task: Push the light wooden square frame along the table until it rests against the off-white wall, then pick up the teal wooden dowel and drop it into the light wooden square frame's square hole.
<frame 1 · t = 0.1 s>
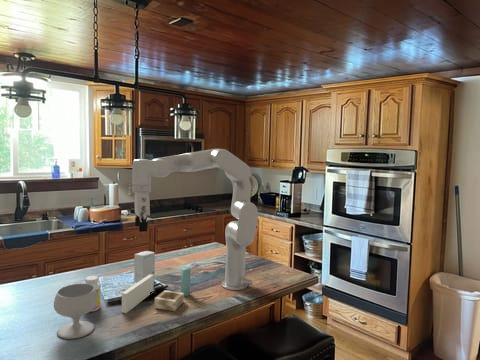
hand: (141, 228, 149), 31 cm above the kitchen island, tool pointing down, fingers open, 9 cm apart
dowel: (185, 294, 159), on the kitchen island
skincare box: (144, 283, 171), on the kitchen island
chalice: (76, 331, 125), on the kitchen island
light wooden square frame: (169, 300, 147), point 2 cm above the kitchen island, slide at 0.0 cm
wall: (138, 301, 150), on the kitchen island
supplement bottle: (91, 309, 142), on the kitchen island
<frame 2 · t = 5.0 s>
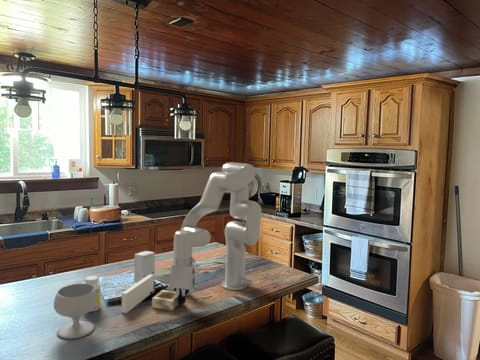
hand: (181, 303, 146), 2 cm above the kitchen island, tool pointing down, fingers closed
light wooden square frame: (167, 299, 148), point 2 cm above the kitchen island, slide at 1.1 cm, touching gripper
everything else where it was.
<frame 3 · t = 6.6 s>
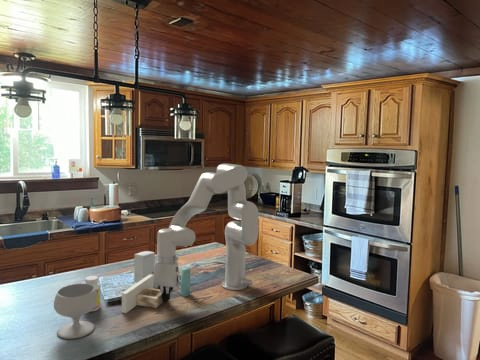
hand: (165, 301, 148), 2 cm above the kitchen island, tool pointing down, fingers closed
light wooden square frame: (151, 297, 150), point 2 cm above the kitchen island, slide at 8.2 cm, touching gripper
everything else where it was.
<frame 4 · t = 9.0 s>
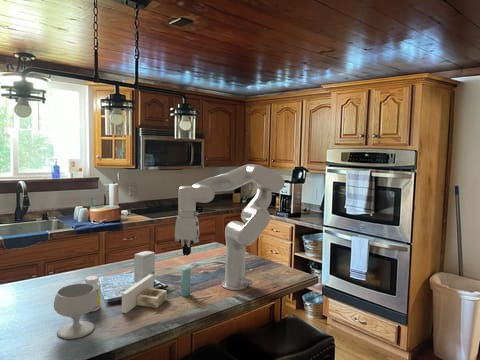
hand: (186, 254, 157), 19 cm above the kitchen island, tool pointing down, fingers closed
light wooden square frame: (152, 297, 149), point 2 cm above the kitchen island, slide at 8.0 cm
everything else where it was.
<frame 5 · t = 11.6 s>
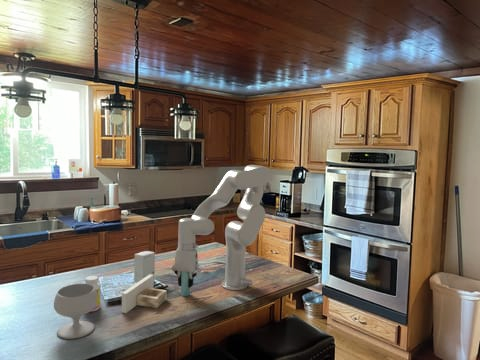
hand: (185, 285, 158), 4 cm above the kitchen island, tool pointing down, fingers closed on dowel, 4 cm apart
dowel: (185, 294, 159), on the kitchen island, touching gripper
everything else where it was.
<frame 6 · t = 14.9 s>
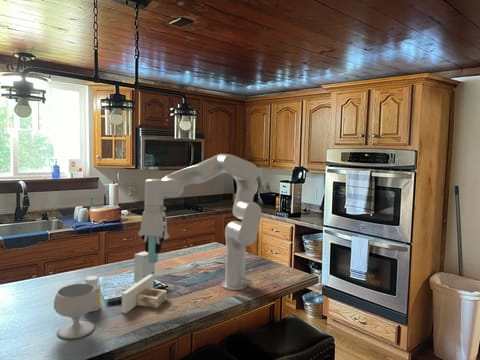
hand: (153, 251, 148), 22 cm above the kitchen island, tool pointing down, fingers closed on dowel, 4 cm apart
dowel: (152, 261, 148), point 18 cm above the kitchen island, touching gripper
everything else where it was.
when the fingers open (6 cm above the kitchen island, at t = 18.1 s): dowel drops 2 cm, resting in light wooden square frame.
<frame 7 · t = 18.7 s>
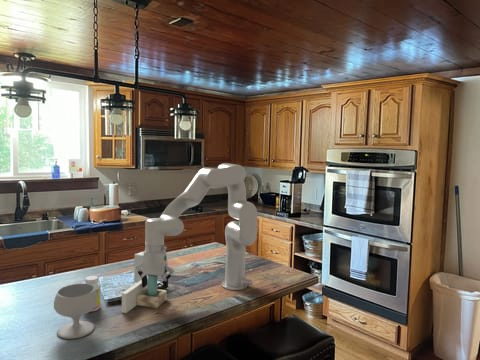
hand: (154, 287, 149), 7 cm above the kitchen island, tool pointing down, fingers open, 9 cm apart
dowel: (152, 302, 150), resting in light wooden square frame
everything else where it was.
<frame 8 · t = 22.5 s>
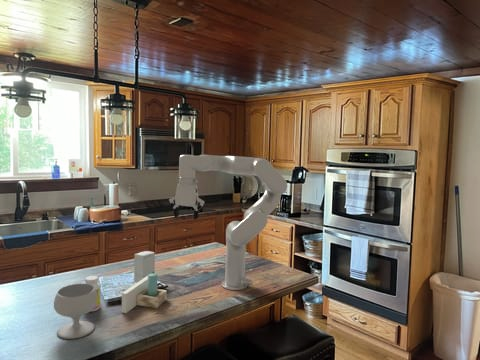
hand: (186, 217, 164), 33 cm above the kitchen island, tool pointing down, fingers open, 9 cm apart
nothing on the kitchen island moved.
at the end: light wooden square frame slide at 8.0 cm; dowel 0.0 cm from the target spot, resting in light wooden square frame; dowel tilted 0° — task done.
